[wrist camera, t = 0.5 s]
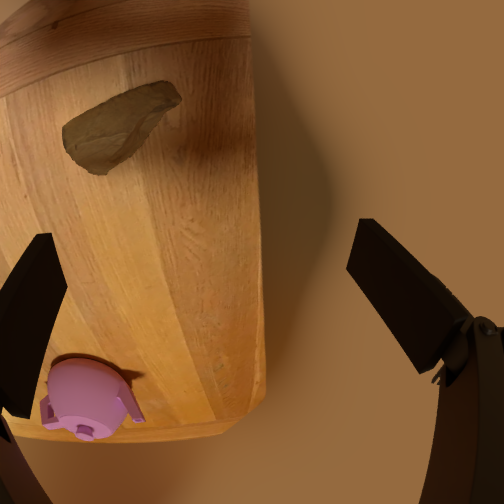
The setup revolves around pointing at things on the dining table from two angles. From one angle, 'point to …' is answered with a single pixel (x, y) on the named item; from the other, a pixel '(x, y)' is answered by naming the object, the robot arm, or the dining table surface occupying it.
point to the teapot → (87, 399)
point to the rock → (117, 126)
